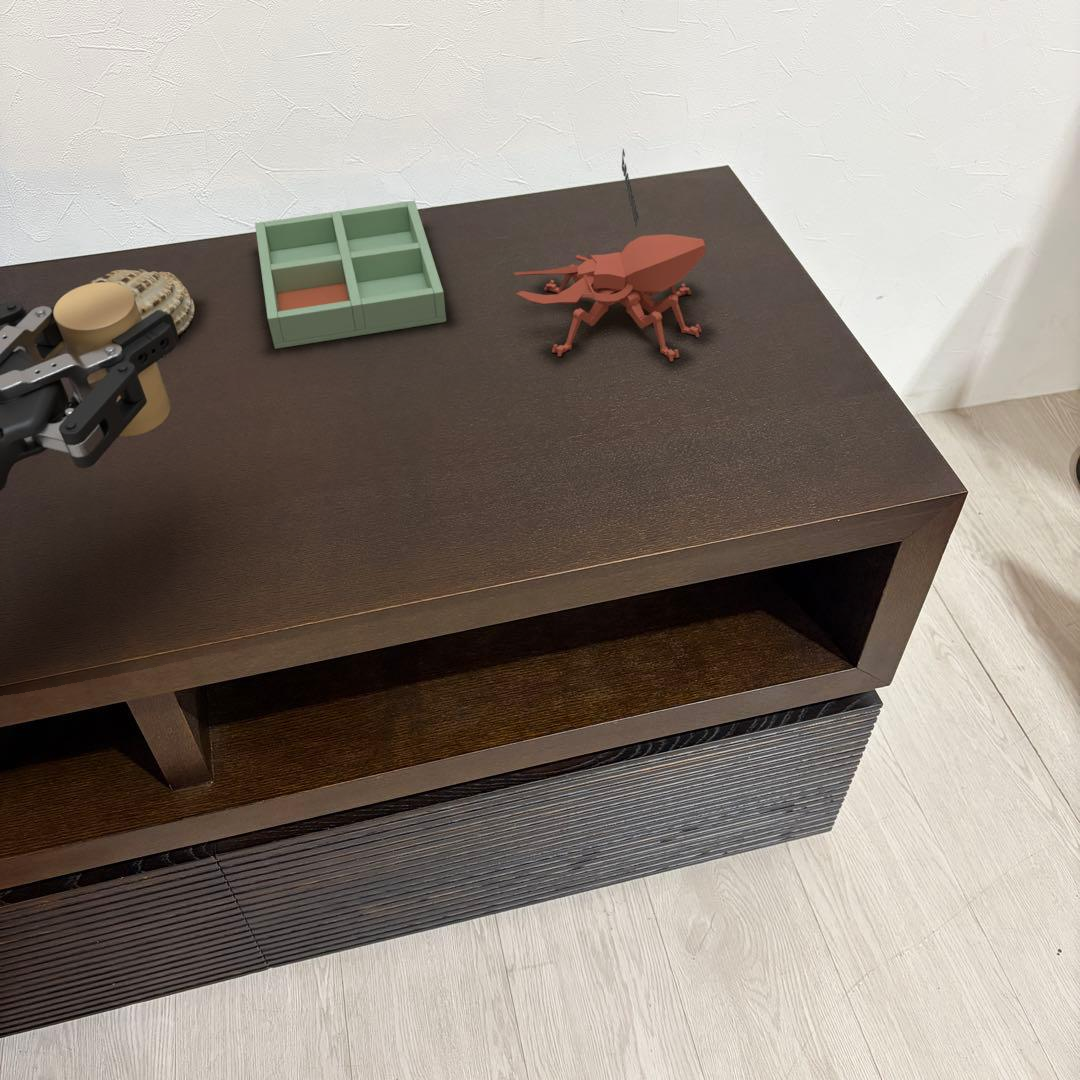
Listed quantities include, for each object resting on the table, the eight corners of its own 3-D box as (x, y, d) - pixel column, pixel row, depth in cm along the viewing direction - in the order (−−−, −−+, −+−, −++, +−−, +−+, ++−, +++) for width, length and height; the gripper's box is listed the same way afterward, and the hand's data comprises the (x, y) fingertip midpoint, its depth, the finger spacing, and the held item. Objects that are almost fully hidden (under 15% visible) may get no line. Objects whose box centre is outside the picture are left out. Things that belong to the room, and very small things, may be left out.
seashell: (121, 328, 95) (60, 355, 85) (113, 257, 92) (50, 277, 83) (207, 334, 94) (156, 362, 85) (202, 263, 92) (148, 284, 82)
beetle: (685, 269, 95) (700, 131, 85) (710, 360, 86) (729, 218, 77) (512, 278, 94) (507, 140, 85) (520, 370, 86) (516, 229, 76)
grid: (274, 349, 88) (267, 318, 86) (261, 252, 97) (254, 222, 95) (446, 321, 90) (443, 291, 88) (417, 229, 99) (414, 200, 97)
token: (84, 410, 67) (39, 303, 61) (148, 378, 69) (111, 272, 63) (118, 447, 65) (75, 340, 59) (184, 413, 67) (148, 307, 61)
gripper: (-66, 486, 50) (212, 297, 59) (-238, 370, 55) (41, 214, 64) (-3, 590, 55) (242, 403, 64) (-165, 475, 61) (82, 318, 70)
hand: (140, 309), depth 64 cm, fingers closed on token, 4 cm apart
